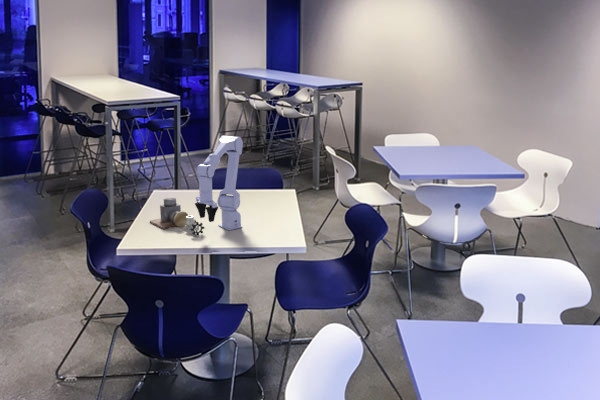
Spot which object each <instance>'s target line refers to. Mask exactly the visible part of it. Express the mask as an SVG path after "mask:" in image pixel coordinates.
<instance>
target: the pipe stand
mask: <svg viewBox="0 0 600 400" xmlns="http://www.w3.org/2000/svg"><path fill="white" fill-rule="evenodd" d="M181 207H182V206H181V204H179V203H177V198H176V197H166V198H164V199H163V204H160V205H159V209H160V210H159V212H160V218H157V219H152V220H149V223H150V224H152V225H154V226H155V227H158V228H160V229H162V230H168V229H172V228H177V227H178V228H179V227H180V228H184V227H186V216H189V214H188V213H187V212H186V211H181V210H182V209H181ZM196 222H197V220H196V219H194V223H195V224H196Z"/></svg>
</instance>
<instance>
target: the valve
mask: <svg viewBox="0 0 600 400" xmlns="http://www.w3.org/2000/svg"><path fill="white" fill-rule="evenodd" d="M194 220H195V218H194V215H188V216H186V225H185V230H186V231H189V232H190V231H191V232H192V233H191V234H193V236H194V235H196V236H199V235H200V234H203V233H204V231H203V230H204V229H205V226H204V225H203V223H202V222H199V221H196V222H195V223H194Z"/></svg>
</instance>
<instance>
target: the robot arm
mask: <svg viewBox="0 0 600 400" xmlns="http://www.w3.org/2000/svg"><path fill="white" fill-rule="evenodd" d="M243 146H244V141H243V139H242V138H241V136H229V135H221V136H220V138H219V140H218V146H217V147H216V149H215V151H214V152H213V153H209V155H208V156H207V157H206V159H205V160H204V162H202V163H200V164H199V165H197V167H196V171H195V175H196V177H197V180H198V187H199V188H198V189H199V196H196V197H195V203H194V205H195V207H196V209H197V211H198V215H199V218H200V219H203V218H205V217H206V212H207V219H208V222H209V223H211V222H215V217H216V213H217V211H218V210H219V209H220V210H221V223H220V224H218V227H221V228H222V229H224V230H228V231H233V230H236V229H240V228H243V225H242V219H241V213H240V212H239V211H238V209H239V207H240V206H241V195H240V192H238V190H236V186H237V179H238V172H239V171H238V170H239V162H240V156H241V155H242V153H243ZM225 154H227V157H228V158H227V159H228V160H227V166H226V176H225V182H224V188H223V189H222V190H220V191H219V195H218V197H217V201H215V200H214V199H213V177H214V175H215V172H216V169H217V166H218V165H219V164H220V162H221V157H223V155H225Z"/></svg>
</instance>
